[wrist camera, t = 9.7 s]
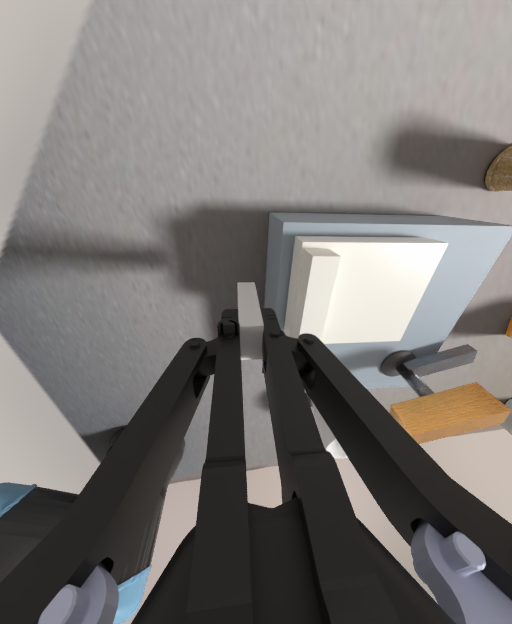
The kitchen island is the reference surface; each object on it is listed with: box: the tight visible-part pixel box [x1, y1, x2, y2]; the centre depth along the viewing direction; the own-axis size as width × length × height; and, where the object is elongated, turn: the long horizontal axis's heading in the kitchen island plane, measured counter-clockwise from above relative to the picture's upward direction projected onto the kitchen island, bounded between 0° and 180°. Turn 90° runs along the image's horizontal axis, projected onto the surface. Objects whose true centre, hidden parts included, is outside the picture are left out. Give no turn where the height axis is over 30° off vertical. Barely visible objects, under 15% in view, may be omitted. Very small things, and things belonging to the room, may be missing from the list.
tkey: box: [390, 344, 511, 444], centre depth 23 cm, size 2×12×8 cm, turn 108°
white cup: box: [311, 400, 348, 458], centre depth 38 cm, size 8×8×10 cm
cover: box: [284, 236, 448, 344], centre depth 19 cm, size 12×10×4 cm
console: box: [262, 212, 512, 393], centre depth 27 cm, size 22×22×8 cm
